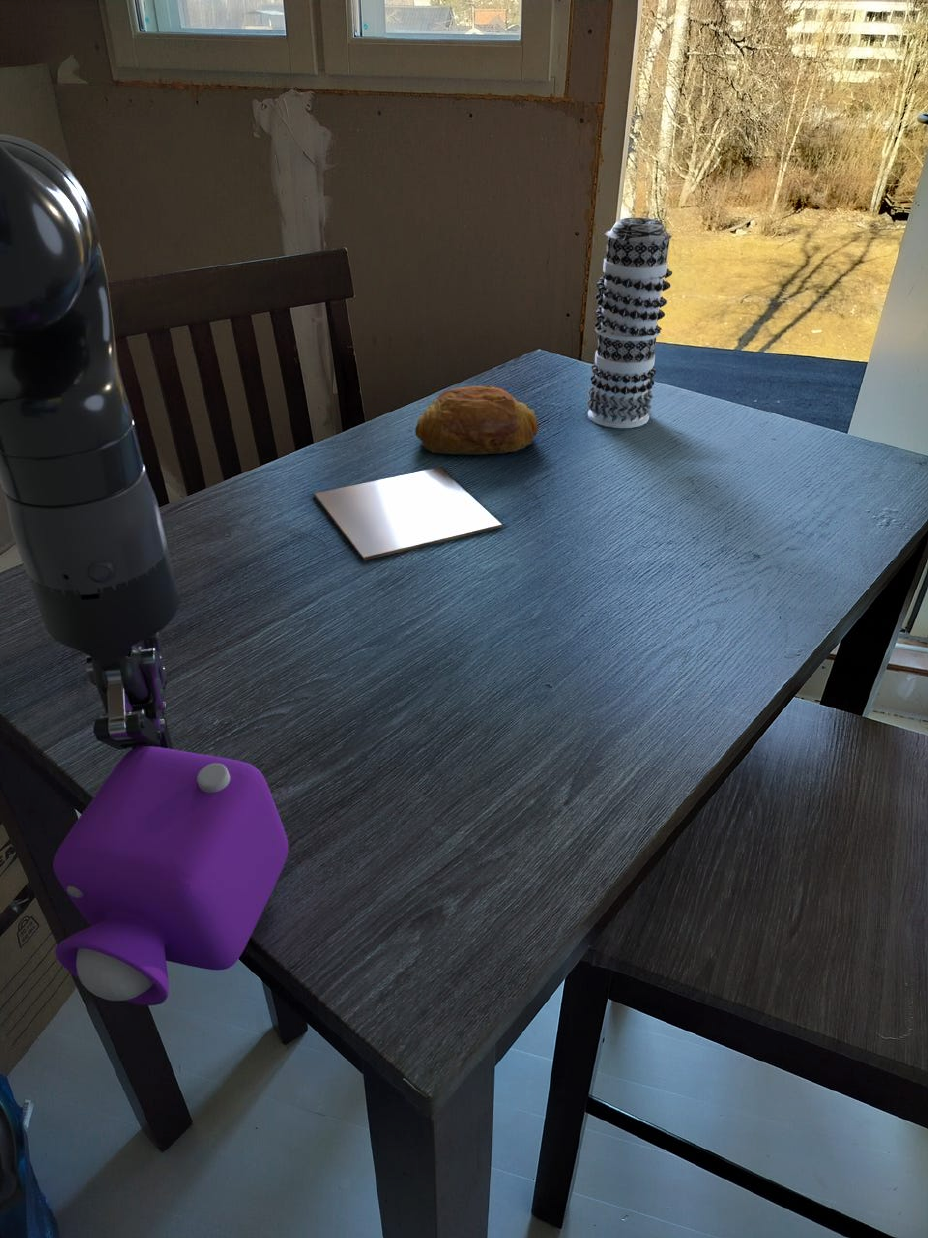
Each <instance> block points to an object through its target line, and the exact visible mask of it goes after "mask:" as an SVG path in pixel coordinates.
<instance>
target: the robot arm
mask: <svg viewBox="0 0 928 1238" xmlns="http://www.w3.org/2000/svg"><path fill="white" fill-rule="evenodd" d="M110 292H111V291H110V285H109V279H108V272H107V266H106V260H105V255H104V249H103V244H102V240H101V235H100V231H99V226H98V223H97V218H96V215H95V212H94V208H93V206H92V204H91V202H90V199H89V197H88V195H87V193H86V191H85V189H84V188H83V186H82V185H81V183H80V180H79V179H78V178H77V177H76V176H75V174H74V173H73V172H72V171H71V170H70V168H69V167H68V166H67V165H66V164H65V163H64V162H62V160H61V159H59V158H58V157H57V156H55V155H54V154H53V153H52V152H50V151H49V150H47V149H46V148H45V147H42V146H41V145H39V144H37V143H35V142H33V141H31V140H28V139H26V138H23V137H19V136H16V135H10V134H3V133H2V134H1V133H0V485H1V488H2V491H3V495H4V498H5V502H6V508H7V515H8V520H9V525H10V529H11V533H12V535H13V539H14V542H15V544H16V548H17V550H18V554H19V557H20V559H21V562H22V565H23V568H24V571H25V573H26V576H27V579H28V581H29V584H30V587H31V590H32V593H33V596H34V599H35V602H36V605H37V607H38V610H39V613H40V616H41V619H42V622H43V624H44V628H45V629H46V631H47V633H48V634H49V636H50V637H51V638H52V639H54V640H55V641H56V642H58V644H59V643H60V644H61V645H63V646H65V647H68V648H70V649H74V650H77V651H79V652H81V653H84V654H85V655H86V656H85V659H84V667H85V671H86V674H87V677H88V680H89V682H90V683H91V685H93V686H95V687H96V689H97V693H98V695H99V697H100V700H101V702H102V706H103V709H104V711H105V713H100V717H99V718H95V720H94V725H93V727H92V731H93V734H94V735H95V739H96V741H99V742H101V743H103V744H105V745H107V746H110V747H112V748H113V749H116V750H118V751H120V750H121V751H123V750H127V749H130V748H131V750H132V749H133V748H136V747H139V746H153V747H161V748H168V749H174V746H173V741H172V738H171V734H170V730H169V727H168V722H167V719H166V714H167V710H168V702H167V701H166V700H165V699H166V698H165V690H166V689H167V684H168V678H167V674H168V673H167V669H166V663H165V660H164V652H163V633H162V630H163V629H164V628H165V627H166V626H167V625H168V624H169V623H170V622H171V621H172V620H173V619H174V617H175V615H176V613H177V611H178V608H179V604H180V595H179V591H178V587H177V582H176V577H175V574H174V568H173V564H172V560H171V555H170V551H169V545H168V541H167V538H166V533H165V528H164V524H163V520H162V516H161V512H160V511H161V510H160V506H159V503H158V500H157V497H156V494H155V491H154V489H153V487H152V483H151V482H150V479H149V475H148V473H147V470H146V466H145V464H144V459H143V455H142V451H141V446H140V441H139V436H138V433H137V429H136V428H137V427H136V424H135V419H134V414H133V413H132V408H131V405H130V401H129V398H128V395H127V392H126V389H125V386H124V381H123V378H122V375H121V369H120V364H119V361H118V360H119V359H118V354H117V343H116V333H115V326H114V325H115V324H114V317H113V309H112V308H113V307H112V301H111V293H110ZM174 750H175V749H174Z"/></svg>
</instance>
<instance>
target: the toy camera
mask: <svg viewBox="0 0 928 1238" xmlns="http://www.w3.org/2000/svg"><path fill="white" fill-rule="evenodd" d="M289 848H290V846H289V839H288V836H287V833H286V830H285V827H284V824H283V822H282V819H281V817H280V814H279V811H278V808H277V806H276V804H275V801H274V798H273V795H272V793H271V790H270V788H269V785H268V782H267V781H266V778H265V777H264V775H263V774H262V772H261V770H259V769H258V768H257V767H256V766H255V765H253V764H250V763H247V762H245V761H241V760H236V759H231V758H226V757H220V756H214V755H209V754H202V753H196V752H192V751H191V752H190V751H185V750H180V749H168V748H161V747H153V746H139V747H136V748H133V749H132V748H131V749H130V750H128V751H127V753H126V754H125V755H124V756H123V757H122V758H121V759H120V760H119V762H118V763H117V764H116V766H115V767H114V768H113V770H112V771H111V772H110V774H109V775H108V777H107V778H106V780H105V781H104V783H102V785H101V786H100V788H99V790H97V792H96V794H95V795H94V796H93V797H92V799H91V801H89V803H88V805H87V806H86V808H85V809H84V810H83V811H82V813H81V815H80V816H79V817H78V819H77V821H76V822H75V823H74V825H73V826H72V828H71V829H70V830H69V832H68V833H67V835H66V836H65V838H64V839H63V840H62V843H61V844H60V846H59V847H58V849H57V851H56V853H55V855H54V858H53V863H52V865H53V866H52V867H53V872H54V874H55V877H56V879H57V880H58V882H59V884H60V886H61V887H62V888H63V890H64V892H65V893H66V894H67V896H68V898H69V899H70V900H71V901H72V903H73V905H74V906H75V908H76V909H77V910H78V912H79V913H80V915H81V916H82V917H83V918H84V920H86V922H87V923H88V925H89V926H88V927H86V928H83V929H82V930H79V931H78V932H76V933H73V934H72V935H70V936H68V937H67V938H65V939H63V940H62V941H60V942H59V943H58V944H57V945H56V947H55V950H54V953H55V957H56V958H57V960H58V962H59V963H60V965H62V967H63V968H65V970H67V971H68V972H69V973H70V974H72V975H73V976H74V977H75V978H77V979H78V980H80V982H81V984H82V985H83V987H84V988H85V989H86V990H87V991H89V992H90V994H93V995H94V996H96V997H98V998H100V999H103V1000H106V1001H111V1002H122V1001H124V1002H127V1003H130V1004H134V1005H142V1006H158V1005H161V1004H163V1003H165V1002H166V1001H167V999H168V997H169V994H170V982H169V981H170V980H169V972H168V965H167V962H170V963H174V964H179V965H183V966H187V967H192V968H196V969H203V970H209V971H226V970H228V969H230V968H231V967H233V966H234V965H235V964H236V963H237V962H238V960H239V959H240V957H241V956H242V954H243V952H244V950H245V948H246V947H247V945H248V943H249V941H250V939H251V936H252V935H253V932H254V930H255V928H256V926H257V924H258V922H259V920H260V918H261V916H262V914H263V911H264V909H265V907H266V906H267V904H268V901H269V899H270V897H271V895H272V893H273V891H274V888H275V887H276V885H277V882H278V880H279V879H280V878H279V877H280V876H281V873H282V871H283V869H284V867H285V865H286V863H287V859H288V855H289V851H290V850H289Z"/></svg>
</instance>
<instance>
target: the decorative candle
mask: <svg viewBox="0 0 928 1238" xmlns="http://www.w3.org/2000/svg"><path fill="white" fill-rule="evenodd" d="M604 235H605V236H606V237H607V244H606V256H605V258H603V268H602V272H603V276H601V277H600V278H599V279H598V282H597V283H596V287H597V291H598V293H597V294H596V295H595V299H596V303H597V305H599V306H598V307H597V309H596V311H595V312H594V314H595V316H596V322H595V323H594V325H593V326H594V327H595V329H594V330H595V331H596V333H597V335H598V339H597V349H596V351H594V352H595V353H594V362H593V364H592V365H591V367H590V368H591V371H592V373H593V375H591V377H590V381H591V384H592V386H591V387H590V388H589V390H588V395H589V399H588V401H587V405H588V408H589V410H588V411H587V416H588V419H589V420H590V421H591V422H593V423H595V424H597V425H600V426H603V427H608V428H614V429H632V428H637V427H641V426H644V425H645V424H647V423H648V421H649V419H650V414H649V413H650V410H651V409H652V405H651V404H650V403H651V402H652V399H653V397H654V395H653V393H652V388H653V386H654V385H655V380H653V378H654V377H655V375H656V373H657V369H656V368H655V360H656V353H655V352H656V344H657V338H658V337H659V336H660V334H662V333H661V332H662V330H663V329H662V327H661V326H659V324H658V322H659V321H660V320H663V318H665V316H666V313H665V312H664V310H663V309H662V308H663V307H665V306H666V305H667V304H668V300H667V298H665V297H664V296H663V295H662V292H666V291H667V290H668V289H670V288H671V283H670V282H668V280H667V279H668V278H669V277H671V276H672V274H673V270H670V269H669V268H668V263H669V261H668V253H669V246H670V239H671V238H672V237H673V235H671V233H670V232H668V231H667V230H666V226H665V225H664V223H663V222H662V221H660V220H658V219H655V218H650V217H625V218H621V219H618V220H616V222H615V223H614V224H613V226H612V228H611V229H610V230H607V231H606V232H605V233H604Z"/></svg>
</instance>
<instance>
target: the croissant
mask: <svg viewBox="0 0 928 1238" xmlns="http://www.w3.org/2000/svg"><path fill="white" fill-rule="evenodd" d="M416 422H417V423H416V426H415V430H414V432H415V433H414V434H415V437H416V438H417V439H419V440H420V441H421V443H422V445H423V448H425V449H426V450H428V451H429V452H431V453H435V454H447V455H449V454H450V455H489V454H490V455H492V454H493V455H494V454H506V453H508V452H517V451H519V450H522V449H525V448H526V446H529V445H531V444H532V443H533V441H534V437H536V436H537V434H538V431H539V422H538V418H537V415H536V413H535V410H533V409H530V408H529V407H528V406H527V404H525V403H523V402H521V401H518V400H516V398H515V397H514V396H513V395H512V394H510V393H509V392H508V391H506V390H505V388H502V387H501V388H500V387H497V386H493V385H488V384H486V385H467V386H461V387H456V388H455V387H454V388H451V389H449V390H443V391H442V392H441V393H439V395H438V396H437V397H436V399H435V400H433V402H432V403H431V404H430V405H429V406H428V407H427V408H426V409H425V411H424V413H423V414H421V415H420V416H419V418H418V419H417V421H416Z"/></svg>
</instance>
